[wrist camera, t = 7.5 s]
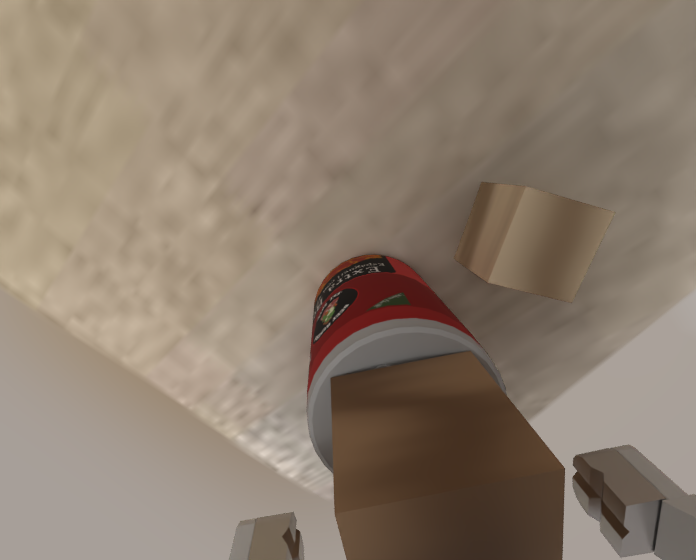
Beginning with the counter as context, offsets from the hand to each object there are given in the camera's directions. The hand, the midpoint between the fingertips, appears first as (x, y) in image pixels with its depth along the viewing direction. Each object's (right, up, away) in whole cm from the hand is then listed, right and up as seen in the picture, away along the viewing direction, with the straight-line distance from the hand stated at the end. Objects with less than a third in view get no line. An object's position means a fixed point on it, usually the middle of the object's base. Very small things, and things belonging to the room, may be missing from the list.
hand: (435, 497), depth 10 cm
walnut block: (0, +1, +3) cm, 3 cm away
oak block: (+7, +9, +12) cm, 17 cm away
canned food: (-1, +4, +14) cm, 14 cm away
